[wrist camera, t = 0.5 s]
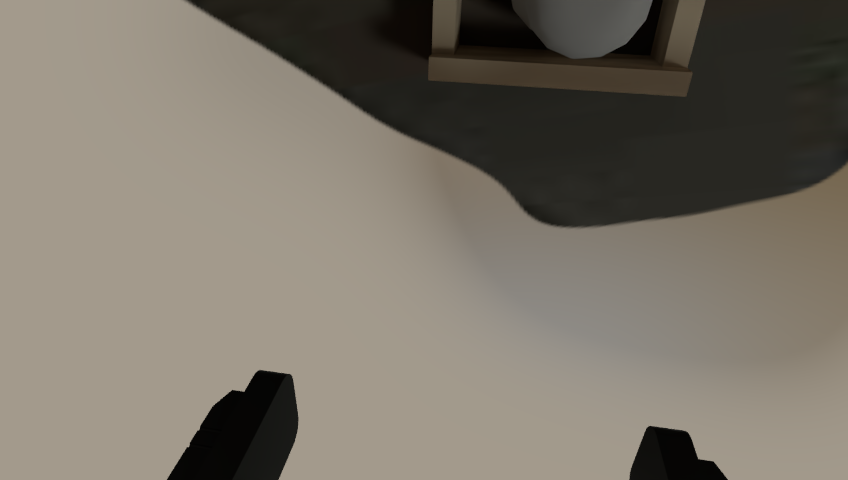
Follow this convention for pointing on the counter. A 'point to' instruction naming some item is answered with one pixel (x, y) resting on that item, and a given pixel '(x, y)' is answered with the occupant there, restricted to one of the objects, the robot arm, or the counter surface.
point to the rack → (555, 70)
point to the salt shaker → (583, 24)
